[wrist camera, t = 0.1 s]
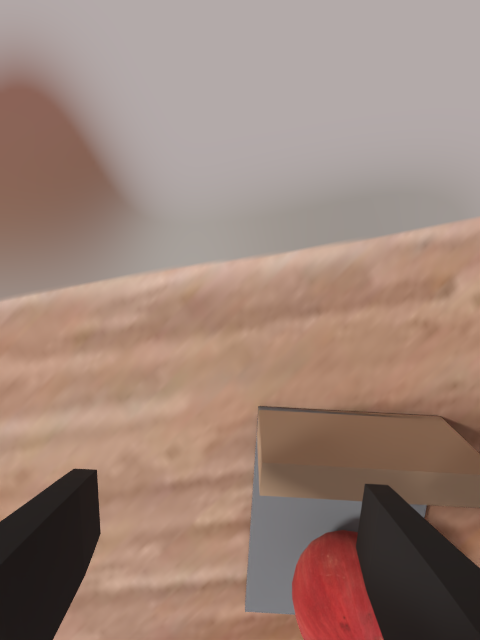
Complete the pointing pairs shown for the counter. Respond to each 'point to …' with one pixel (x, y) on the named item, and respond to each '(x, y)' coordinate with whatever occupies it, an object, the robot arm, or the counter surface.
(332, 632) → the onion
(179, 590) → the counter surface
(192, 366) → the counter surface
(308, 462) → the l-shaped bracket
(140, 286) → the counter surface
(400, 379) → the counter surface
